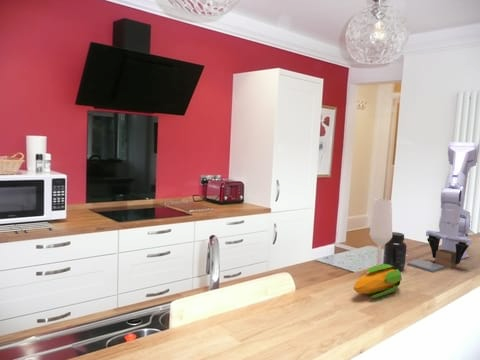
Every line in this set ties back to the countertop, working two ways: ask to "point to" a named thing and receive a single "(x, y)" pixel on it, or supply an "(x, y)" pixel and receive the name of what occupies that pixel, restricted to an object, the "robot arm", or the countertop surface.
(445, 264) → the walnut cube
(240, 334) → the countertop surface
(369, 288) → the corn
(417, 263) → the slate coaster
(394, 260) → the supplement bottle
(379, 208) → the champagne flute
